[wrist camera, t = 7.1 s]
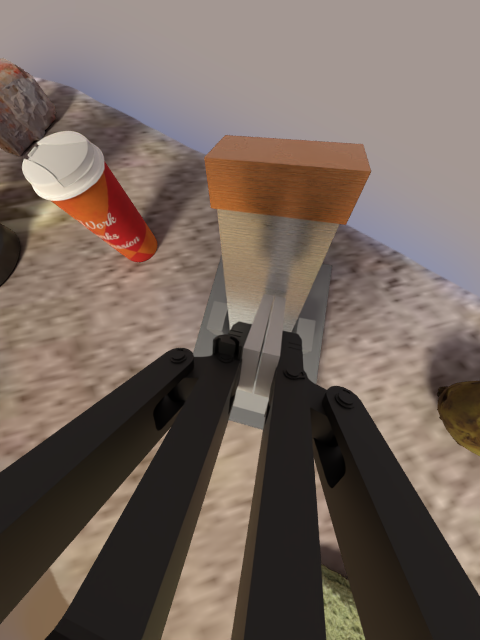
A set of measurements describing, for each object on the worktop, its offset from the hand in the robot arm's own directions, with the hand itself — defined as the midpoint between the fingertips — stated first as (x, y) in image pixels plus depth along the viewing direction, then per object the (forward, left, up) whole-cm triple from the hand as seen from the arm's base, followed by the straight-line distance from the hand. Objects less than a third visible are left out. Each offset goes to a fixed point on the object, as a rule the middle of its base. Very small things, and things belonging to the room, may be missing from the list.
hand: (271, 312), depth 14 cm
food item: (-67, -6, -12) cm, 68 cm away
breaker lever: (0, -1, -8) cm, 8 cm away
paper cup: (-25, -4, -12) cm, 28 cm away
